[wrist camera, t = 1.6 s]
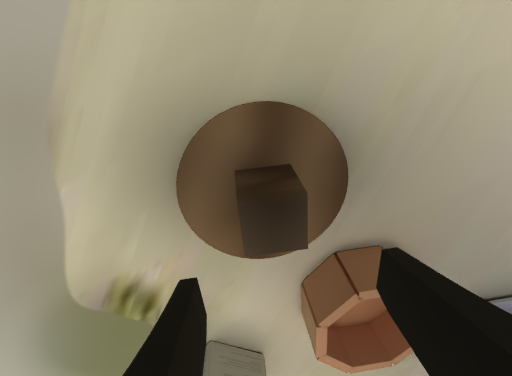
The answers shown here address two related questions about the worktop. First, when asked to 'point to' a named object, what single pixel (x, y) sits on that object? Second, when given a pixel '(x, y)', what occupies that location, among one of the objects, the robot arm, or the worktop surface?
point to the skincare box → (232, 361)
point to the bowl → (351, 314)
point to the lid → (262, 180)
